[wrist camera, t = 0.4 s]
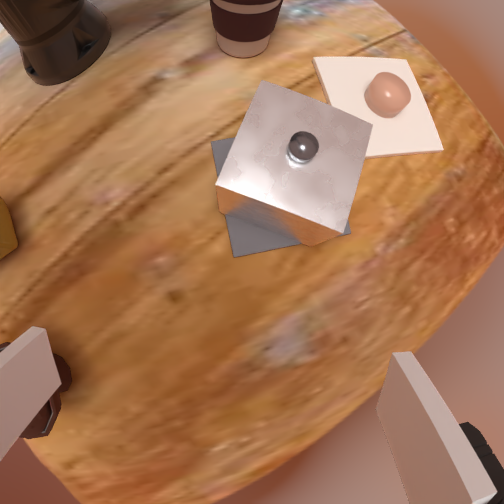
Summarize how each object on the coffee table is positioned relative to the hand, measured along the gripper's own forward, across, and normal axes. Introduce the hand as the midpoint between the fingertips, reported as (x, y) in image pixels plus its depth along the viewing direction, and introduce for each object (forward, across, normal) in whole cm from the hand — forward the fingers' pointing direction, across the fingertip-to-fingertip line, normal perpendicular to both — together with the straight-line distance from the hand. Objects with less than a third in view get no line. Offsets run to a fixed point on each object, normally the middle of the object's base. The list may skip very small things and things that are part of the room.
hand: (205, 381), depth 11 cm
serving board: (+35, +18, +17) cm, 43 cm away
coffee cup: (+37, -2, +26) cm, 45 cm away
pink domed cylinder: (+34, +18, +18) cm, 43 cm away
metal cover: (+29, +4, +5) cm, 30 cm away
